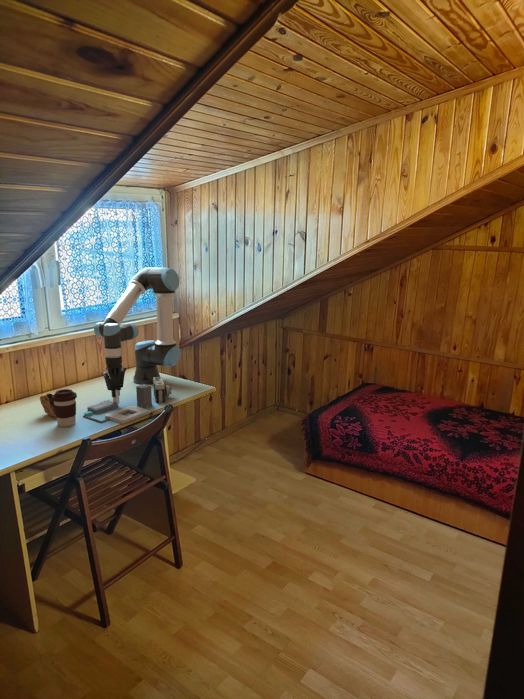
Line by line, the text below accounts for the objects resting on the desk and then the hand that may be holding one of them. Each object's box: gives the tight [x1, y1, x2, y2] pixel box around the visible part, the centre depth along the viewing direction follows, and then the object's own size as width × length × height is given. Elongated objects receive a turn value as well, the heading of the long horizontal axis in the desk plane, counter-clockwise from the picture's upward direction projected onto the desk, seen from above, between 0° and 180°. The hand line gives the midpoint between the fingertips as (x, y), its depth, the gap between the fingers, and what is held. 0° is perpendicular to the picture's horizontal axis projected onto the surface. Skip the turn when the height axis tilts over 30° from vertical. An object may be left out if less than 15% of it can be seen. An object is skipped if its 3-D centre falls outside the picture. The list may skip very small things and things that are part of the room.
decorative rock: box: [39, 393, 57, 419], centre depth 212 cm, size 12×6×11 cm, turn 63°
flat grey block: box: [86, 399, 119, 415], centre depth 222 cm, size 12×7×3 cm, turn 147°
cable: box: [82, 411, 111, 424], centre depth 210 cm, size 5×13×1 cm, turn 57°
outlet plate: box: [104, 404, 151, 425], centre depth 214 cm, size 16×12×2 cm
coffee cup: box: [52, 388, 78, 428], centre depth 201 cm, size 10×10×15 cm
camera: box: [153, 376, 172, 404], centre depth 237 cm, size 14×8×10 cm, turn 18°
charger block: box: [135, 384, 153, 409], centre depth 226 cm, size 5×5×10 cm
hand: (116, 402), depth 226 cm, fingers closed
